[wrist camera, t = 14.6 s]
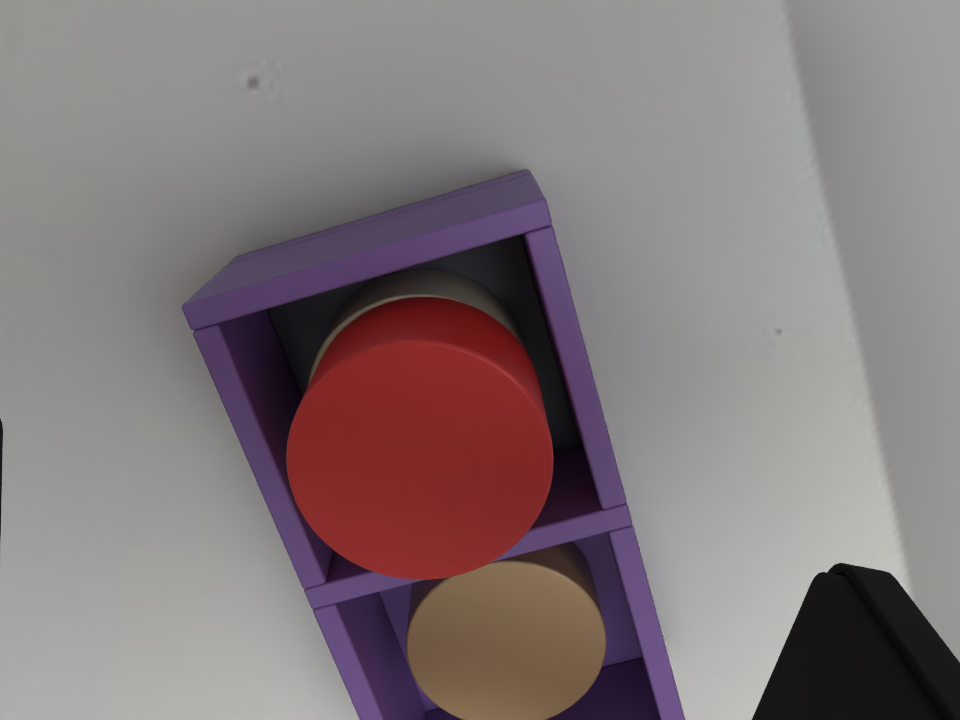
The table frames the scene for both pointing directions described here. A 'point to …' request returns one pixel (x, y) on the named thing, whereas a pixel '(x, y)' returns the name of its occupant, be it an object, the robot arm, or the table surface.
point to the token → (508, 636)
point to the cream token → (419, 286)
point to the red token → (421, 441)
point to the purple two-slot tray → (566, 397)
